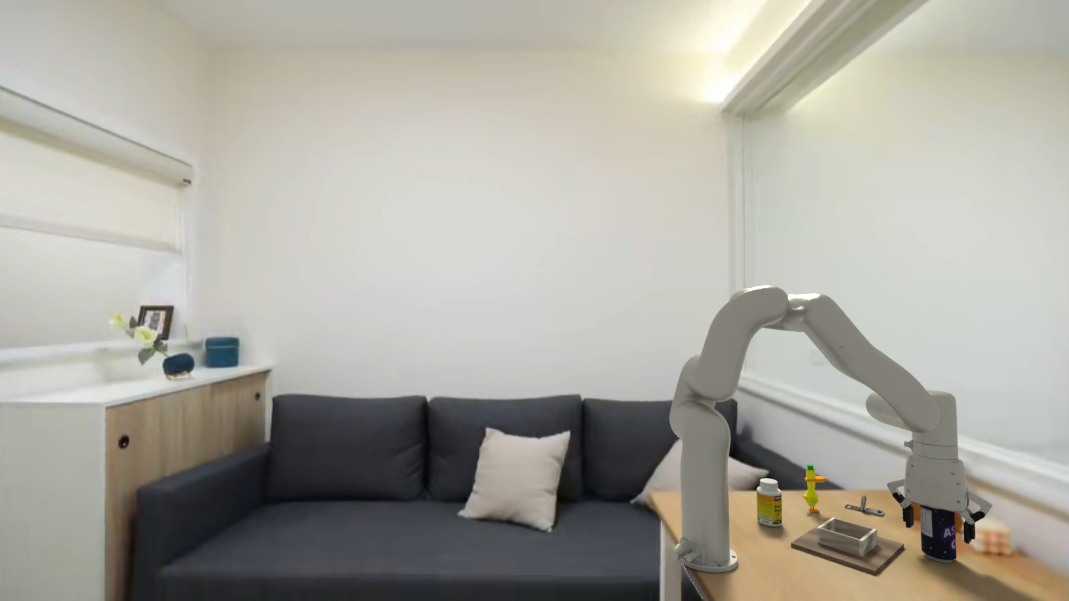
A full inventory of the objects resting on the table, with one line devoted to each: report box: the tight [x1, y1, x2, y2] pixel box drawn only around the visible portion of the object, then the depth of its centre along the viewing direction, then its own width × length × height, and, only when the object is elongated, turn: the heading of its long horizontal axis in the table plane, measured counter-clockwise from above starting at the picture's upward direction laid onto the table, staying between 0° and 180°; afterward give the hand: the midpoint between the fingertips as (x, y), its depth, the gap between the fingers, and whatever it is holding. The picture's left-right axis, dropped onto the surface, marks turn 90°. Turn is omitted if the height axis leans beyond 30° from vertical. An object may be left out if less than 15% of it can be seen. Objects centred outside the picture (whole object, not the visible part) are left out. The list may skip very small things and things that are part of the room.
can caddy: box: [790, 516, 905, 576], centre depth 109 cm, size 18×16×4 cm
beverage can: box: [919, 505, 957, 564], centre depth 104 cm, size 6×6×12 cm
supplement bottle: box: [756, 477, 783, 528], centre depth 123 cm, size 6×6×10 cm
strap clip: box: [843, 494, 885, 518], centre depth 130 cm, size 8×3×4 cm, turn 42°
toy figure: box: [801, 463, 828, 514], centre depth 130 cm, size 7×4×12 cm, turn 94°
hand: (937, 533), depth 104 cm, fingers open, 9 cm apart
